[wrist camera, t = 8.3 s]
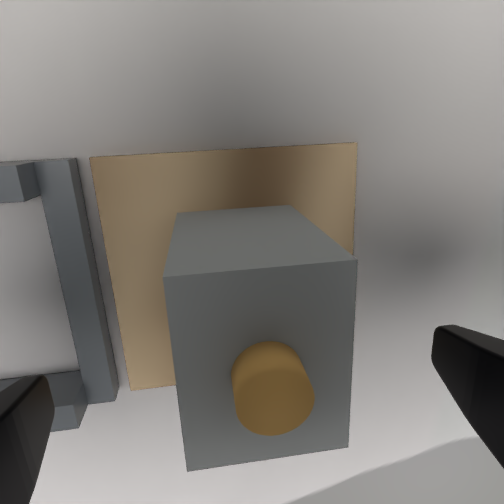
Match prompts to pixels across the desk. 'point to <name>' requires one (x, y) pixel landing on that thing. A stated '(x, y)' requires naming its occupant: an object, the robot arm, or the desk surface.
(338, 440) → the cable plug
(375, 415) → the desk surface
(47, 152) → the desk surface
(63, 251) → the grey square frame
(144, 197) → the cork pad
